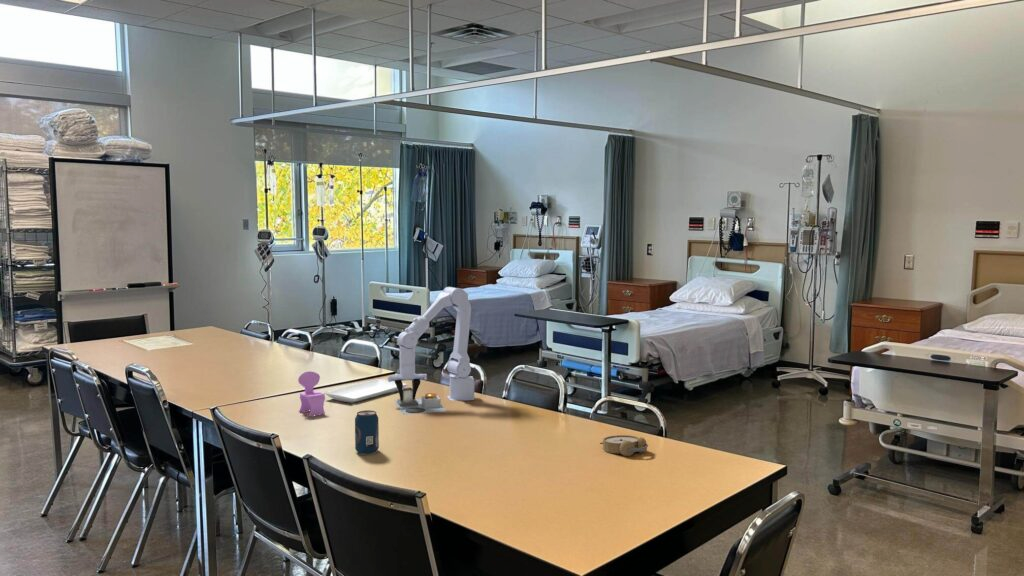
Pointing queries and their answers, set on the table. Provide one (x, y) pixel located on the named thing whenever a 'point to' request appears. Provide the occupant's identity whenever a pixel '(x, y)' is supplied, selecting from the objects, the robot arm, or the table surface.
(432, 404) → the panel
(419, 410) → the rubber pad
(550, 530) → the table surface
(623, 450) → the alarm clock
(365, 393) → the tray
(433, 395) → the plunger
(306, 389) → the toy chair
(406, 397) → the cartridge
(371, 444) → the soda can
